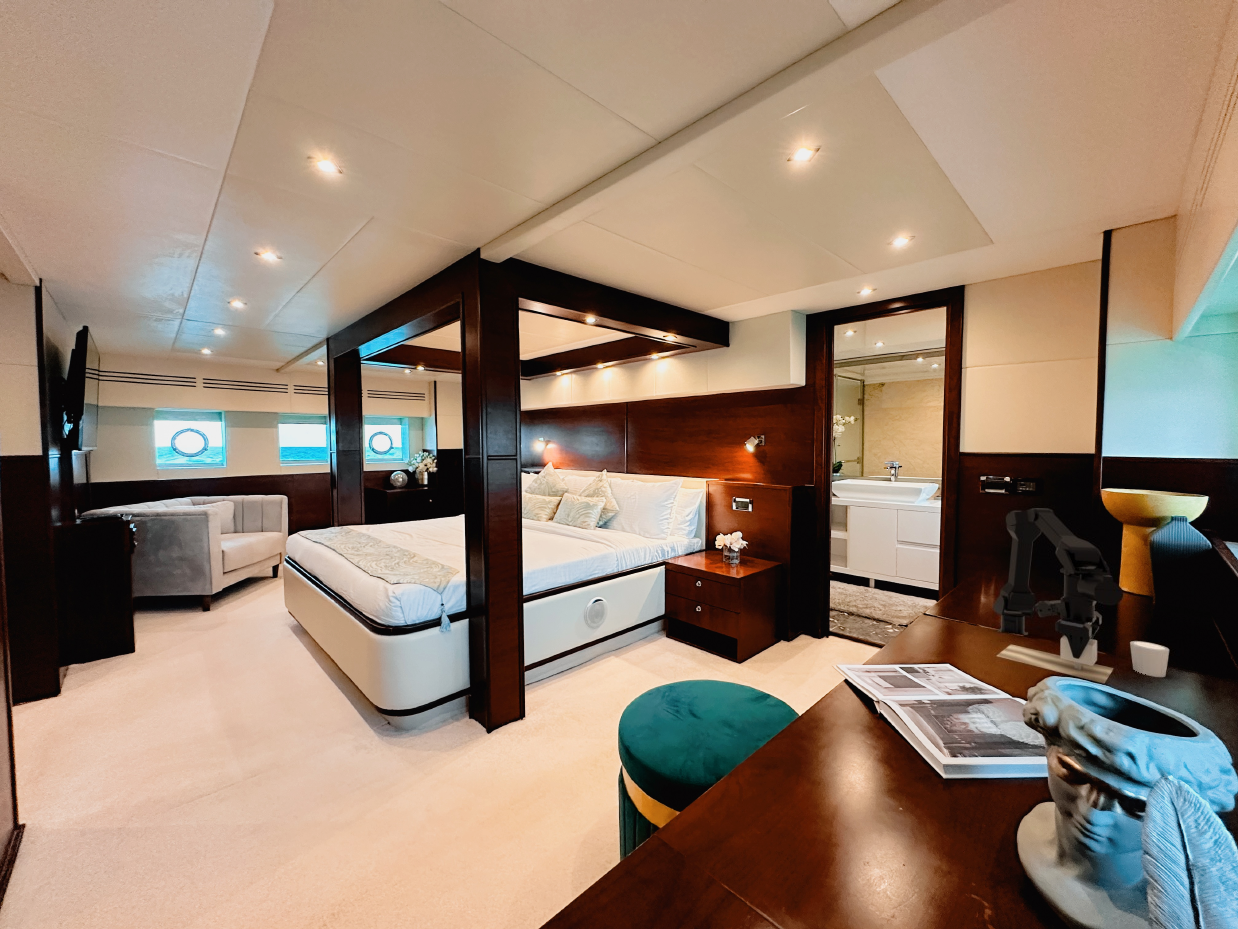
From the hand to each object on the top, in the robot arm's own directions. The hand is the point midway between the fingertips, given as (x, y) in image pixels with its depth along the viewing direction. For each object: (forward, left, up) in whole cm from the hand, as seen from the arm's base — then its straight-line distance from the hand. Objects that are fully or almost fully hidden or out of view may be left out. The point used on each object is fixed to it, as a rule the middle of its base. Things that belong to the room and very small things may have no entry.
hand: (1078, 655), depth 125 cm
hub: (0, 0, -1) cm, 1 cm away
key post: (0, 0, -3) cm, 3 cm away
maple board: (0, -5, -5) cm, 7 cm away
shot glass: (-16, +11, -5) cm, 20 cm away
